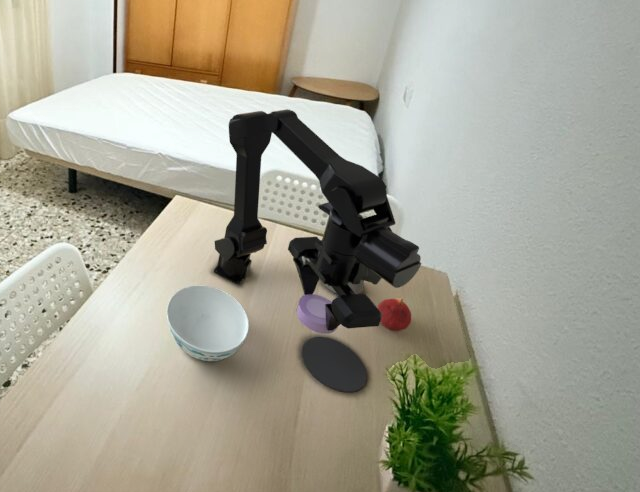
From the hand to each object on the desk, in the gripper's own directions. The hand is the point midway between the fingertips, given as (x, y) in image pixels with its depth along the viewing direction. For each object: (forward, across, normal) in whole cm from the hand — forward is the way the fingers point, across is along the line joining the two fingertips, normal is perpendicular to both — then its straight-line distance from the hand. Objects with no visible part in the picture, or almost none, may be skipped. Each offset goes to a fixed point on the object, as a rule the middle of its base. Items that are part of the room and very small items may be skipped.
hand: (318, 312), depth 73 cm
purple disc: (+1, 0, 0) cm, 1 cm away
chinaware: (+10, +3, +20) cm, 22 cm away
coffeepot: (+10, +16, -18) cm, 27 cm away
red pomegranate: (+10, +4, -20) cm, 23 cm away
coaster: (+10, -3, -4) cm, 11 cm away
